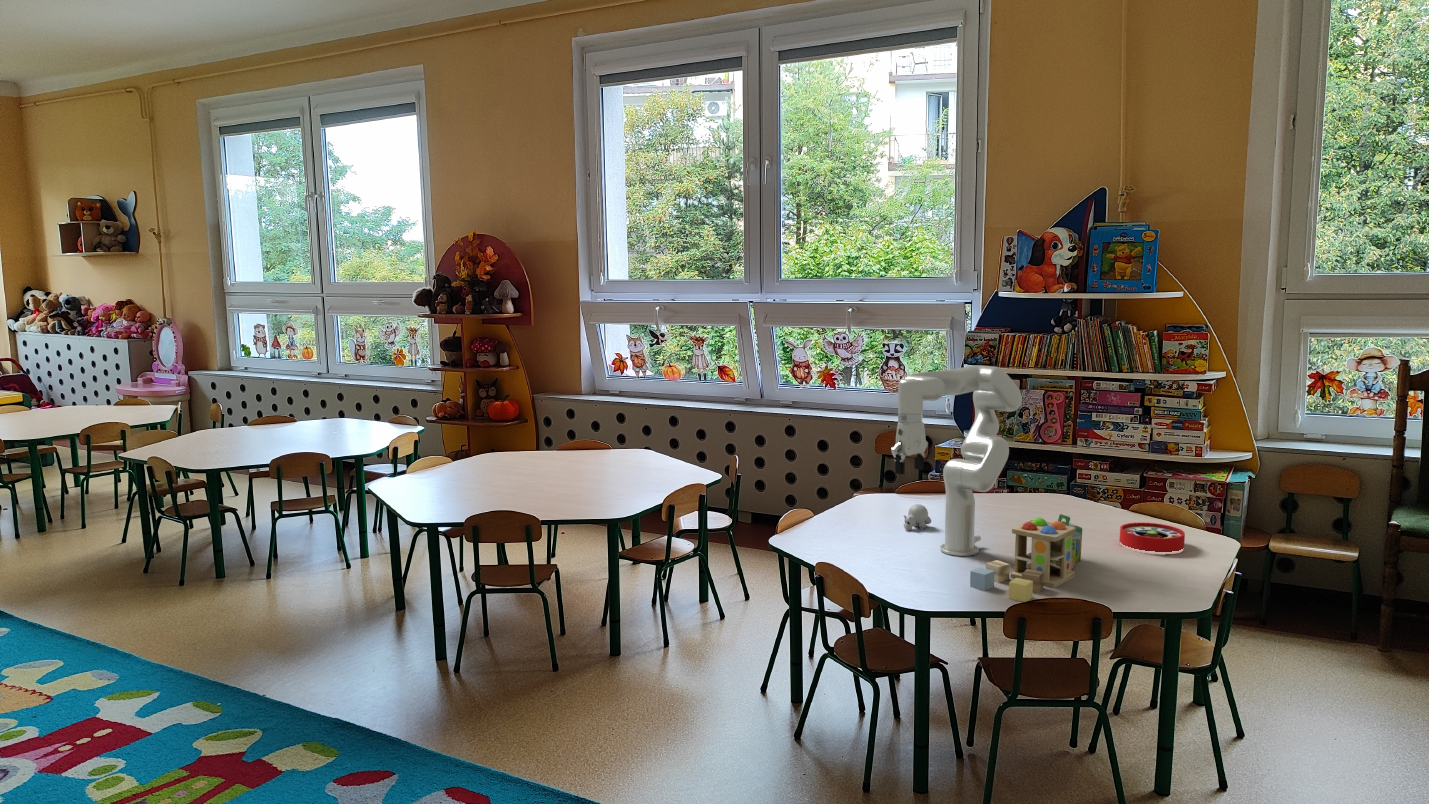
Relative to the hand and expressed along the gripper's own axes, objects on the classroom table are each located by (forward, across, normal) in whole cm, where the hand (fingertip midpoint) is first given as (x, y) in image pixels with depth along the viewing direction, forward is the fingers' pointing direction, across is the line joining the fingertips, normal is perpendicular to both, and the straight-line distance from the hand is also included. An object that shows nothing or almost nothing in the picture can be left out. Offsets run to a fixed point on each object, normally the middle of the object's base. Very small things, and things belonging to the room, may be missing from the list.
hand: (909, 471), depth 295 cm
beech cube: (+32, +10, -26) cm, 42 cm away
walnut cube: (+32, +10, -38) cm, 50 cm away
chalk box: (+32, +42, -29) cm, 60 cm away
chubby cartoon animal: (+32, +39, +27) cm, 57 cm away
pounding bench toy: (+32, +26, -34) cm, 53 cm away
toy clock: (+32, +78, -43) cm, 94 cm away
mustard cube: (+32, +1, -40) cm, 51 cm away
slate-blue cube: (+32, +1, -27) cm, 41 cm away
